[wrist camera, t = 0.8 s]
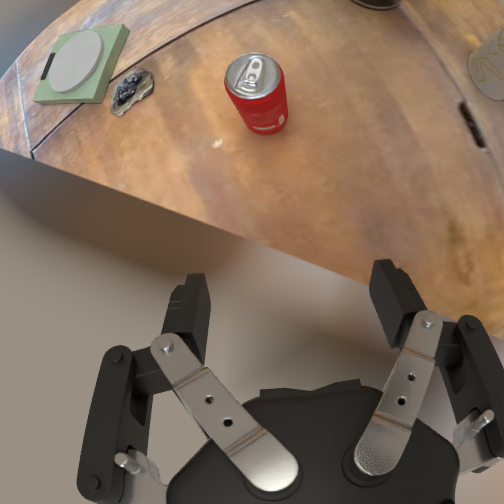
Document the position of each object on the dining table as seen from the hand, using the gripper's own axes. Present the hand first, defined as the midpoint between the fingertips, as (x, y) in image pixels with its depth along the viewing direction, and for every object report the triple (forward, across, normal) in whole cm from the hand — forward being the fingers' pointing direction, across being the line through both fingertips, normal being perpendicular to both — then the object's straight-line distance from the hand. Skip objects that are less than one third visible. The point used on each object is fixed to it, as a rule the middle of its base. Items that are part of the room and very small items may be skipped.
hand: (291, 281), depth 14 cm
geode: (+32, +18, -8) cm, 38 cm away
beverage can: (+27, 0, -3) cm, 27 cm away
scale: (+37, +28, -15) cm, 49 cm away
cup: (+27, -34, -11) cm, 45 cm away
